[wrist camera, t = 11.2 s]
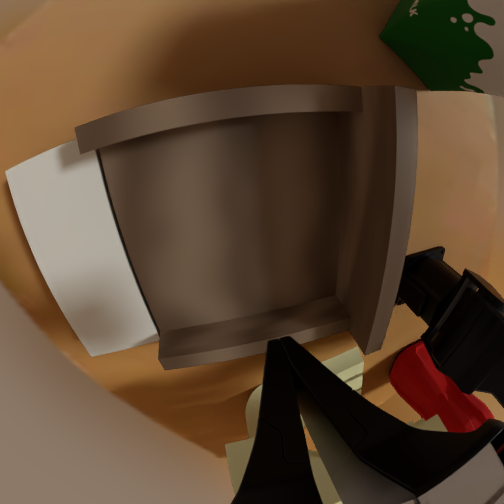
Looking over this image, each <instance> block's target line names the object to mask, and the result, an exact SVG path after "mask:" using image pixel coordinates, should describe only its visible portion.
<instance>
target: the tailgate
mask: <svg viewBox="0 0 504 504" xmlns="http://www.w3.org/2000/svg"><path fill="white" fill-rule="evenodd" d="M5 172H6V176H7V180H8V184H9V187H10V191H11V194H12V198H13V201H14V204H15V207H16V210H17V213H18V216H19V219H20V222H21V225H22V228H23V230H24V233H25V235H26V238H27V241H28V243H29V245H30V248H31V250H32V253H33V255H34V257H35V259H36V262H37V264H38V266H39V268H40V270H41V272H42V275H43V277H44V279H45V281H46V283H47V285H48V287H49V288H50V290H51V292H52V294H53V296H54V298H55V300H56V302H57V303H58V305H59V307H60V309H61V310H62V312H63V314H64V316H65V317H66V319H67V321H68V322H69V324H70V325H71V327H72V329H73V330H74V332H75V333H76V335H77V336H78V338H79V339H80V341H81V342H82V344H83V345H84V347H85V348H86V350H87V351H88V353H89V354H90V356H91V357H93V356H98V355H102V354H107V353H111V352H115V351H120V350H124V349H128V348H132V347H136V346H140V345H144V344H148V343H152V342H155V341H159V340H160V331H159V328H158V325H157V323H156V321H155V319H154V317H153V314H152V312H151V310H150V307H149V305H148V303H147V300H146V298H145V295H144V293H143V290H142V288H141V285H140V283H139V280H138V278H137V275H136V272H135V270H134V267H133V264H132V261H131V259H130V256H129V253H128V250H127V247H126V244H125V241H124V238H123V235H122V232H121V229H120V226H119V223H118V220H117V216H116V213H115V210H114V206H113V203H112V199H111V195H110V192H109V188H108V184H107V180H106V176H105V172H104V168H103V164H102V159H101V155H100V150H99V148H98V149H95V150H92V151H89V152H87V153H84V154H81V155H80V152H79V147H78V142H77V139H75V140H73V141H70V142H67V143H65V144H62V145H60V146H57V147H55V148H53V149H50V150H48V151H46V152H44V153H41V154H39V155H37V156H35V157H33V158H31V159H28V160H26V161H24V162H22V163H20V164H18V165H16V166H14V167H13V168H11V169H9V170H7V171H5Z"/></svg>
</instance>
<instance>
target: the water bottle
mask: <svg viewBox="0 0 504 504" xmlns="http://www.w3.org/2000/svg"><path fill="white" fill-rule="evenodd" d="M389 379H390V382H391V385H392V386H393V387H394V389H395V390H396V391H397V393H398V394H399V395H400V397H402V398H403V399H404V400H405V401H406V402H407V403H408V404H409V405H410V406H411V407H412V408H413V409H414V410H415V411H416V412H417V413H418V414H419V415H420V416H421V418H424V420H425V421H427V420H429V419H430V418H432V417H433V416H435V415H436V414H437V415H438V416H439V418H440V419H441V421H442V423H443V424H444V426H445V428H446V429H447V431H448V432H460V433H463V432H471V431H474V430H476V429H477V428H479V427H480V426H481V425H482V424H483V423H484V422H485V421H486V420H488V419H494V417H493V415H492V413H491V412H490V410H489V409H488V407H487V406H486V405H485V404H484V403H483V402H482V401H481V400H479V399H478V398H477V397H475V396H474V395H473V394H471V395H468V394H465V393H463V392H461V391H460V390H459V388H458V387H457V385H456V384H455V383H454V382H453V380H452V379H451V378H450V377H448V376H446V375H444V374H443V373H441V372H439V371H438V370H437V369H436V367H435V365H434V363H433V361H432V359H431V357H430V355H429V353H428V351H427V349H426V347H425V345H424V343H423V341H420V342H418V343H416V344H414V345H412V346H410V347H408V348H405V349H404V350H403V351H402V352H401V353H400V354H399V355H398V356H397V358H396V360H395V362H394V364H393V368H392V370H391V372H390V373H389Z"/></svg>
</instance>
